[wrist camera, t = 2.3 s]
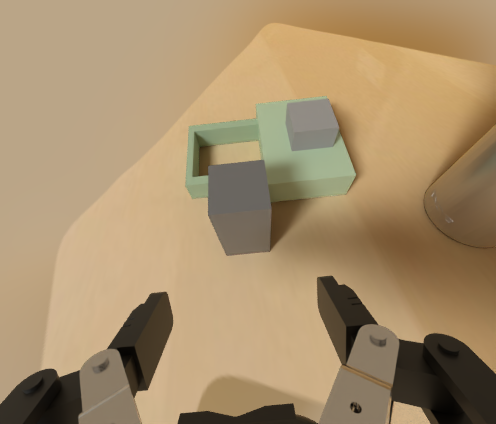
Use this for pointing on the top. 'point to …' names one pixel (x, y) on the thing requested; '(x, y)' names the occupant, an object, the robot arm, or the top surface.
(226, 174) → the tall slate pillar
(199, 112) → the top surface
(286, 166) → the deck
